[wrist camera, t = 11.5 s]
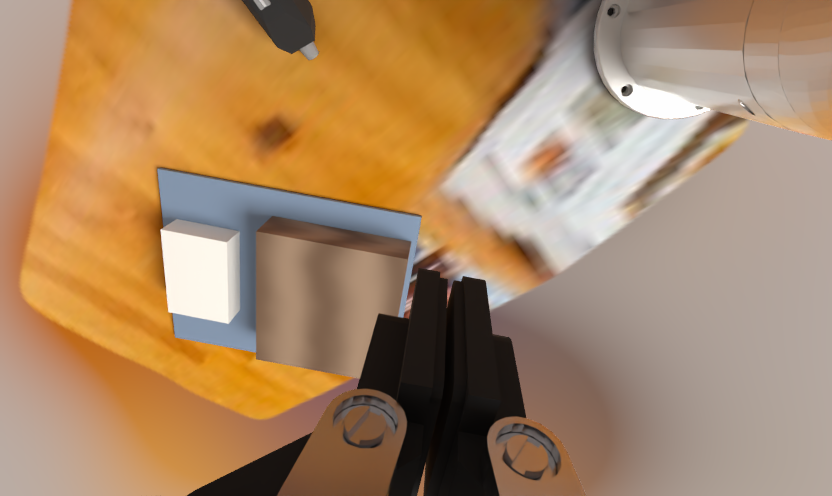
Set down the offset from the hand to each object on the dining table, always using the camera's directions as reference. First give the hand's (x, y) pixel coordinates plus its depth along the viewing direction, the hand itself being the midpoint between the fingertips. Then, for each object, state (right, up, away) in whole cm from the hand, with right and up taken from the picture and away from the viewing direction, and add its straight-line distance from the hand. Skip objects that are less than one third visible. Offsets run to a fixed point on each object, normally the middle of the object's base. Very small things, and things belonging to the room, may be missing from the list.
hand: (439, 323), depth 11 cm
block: (-9, -3, +32) cm, 33 cm away
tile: (-21, -1, +29) cm, 36 cm away
